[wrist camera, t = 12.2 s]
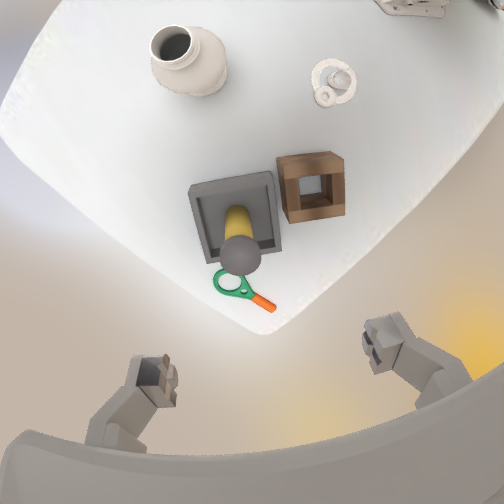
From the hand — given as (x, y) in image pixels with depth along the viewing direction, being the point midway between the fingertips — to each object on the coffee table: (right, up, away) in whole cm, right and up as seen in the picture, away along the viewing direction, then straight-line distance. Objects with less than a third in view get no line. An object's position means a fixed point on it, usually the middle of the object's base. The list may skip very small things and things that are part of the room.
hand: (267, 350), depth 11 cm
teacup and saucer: (+9, +31, +26) cm, 42 cm away
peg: (-3, +10, +36) cm, 38 cm away
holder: (+8, +16, +35) cm, 39 cm away
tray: (-3, +10, +37) cm, 38 cm away
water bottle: (-8, +31, +25) cm, 40 cm away
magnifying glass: (-2, -4, +46) cm, 47 cm away
